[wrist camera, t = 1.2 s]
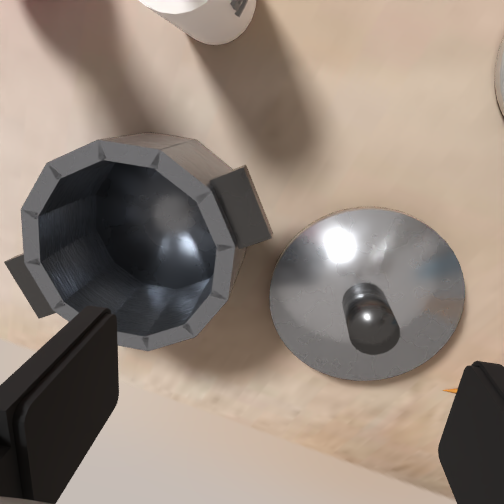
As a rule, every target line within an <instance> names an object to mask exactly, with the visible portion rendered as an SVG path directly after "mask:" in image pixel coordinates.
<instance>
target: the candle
mask: <svg viewBox="0 0 504 504" xmlns="http://www.w3.org/2000/svg"><path fill="white" fill-rule="evenodd" d="M139 1H140V2H141V3H143V4H144V5H145V6H146V7H148V8H149V9H151V10H152V11H154V12H155V13H157V14H158V15H160V16H161V17H163V18H164V19H166V20H167V21H169V22H170V23H172V24H173V25H175V26H176V27H178V28H179V29H181V30H182V31H183V32H185V33H186V34H188V35H189V36H191V37H192V38H194V39H195V40H197V41H200V42H202V43H204V44H210V45H220V44H226V43H228V42H230V41H232V40H234V39H236V38H237V37H239V36H240V35H241V34H242V33H243V32H244V31H245V30H246V28H247V27H248V25H249V23H250V22H251V20H252V17H253V14H254V12H255V9H256V0H139Z"/></svg>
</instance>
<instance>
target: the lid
mask: <svg viewBox="0 0 504 504" xmlns="http://www.w3.org/2000/svg"><path fill="white" fill-rule="evenodd" d="M464 299H465V284H464V278H463V273H462V270H461V267H460V264H459V262H458V260H457V258H456V256H455V254H454V252H453V251H452V249H451V248H450V247H449V245H448V244H447V243H446V241H445V240H444V239H443V238H442V237H441V236H440V235H439V234H438V233H437V232H435V231H434V230H433V229H432V228H431V227H429V226H428V225H427V224H425V223H424V222H422V221H421V220H419V219H417V218H415V217H413V216H411V215H409V214H406V213H403V212H400V211H397V210H393V209H388V208H381V207H356V208H350V209H344V210H341V211H337V212H334V213H331V214H329V215H326V216H324V217H322V218H320V219H318V220H316V221H315V222H313V223H311V224H310V225H308V226H307V227H306V228H304V229H303V230H302V231H300V232H299V233H298V234H297V235H296V236H295V237H294V238H293V239H292V240H291V241H290V243H289V244H288V245H287V246H286V248H285V249H284V250H283V252H282V254H281V256H280V257H279V259H278V261H277V264H276V266H275V269H274V272H273V276H272V280H271V285H270V295H269V300H270V311H271V316H272V320H273V323H274V326H275V328H276V330H277V332H278V334H279V336H280V338H281V339H282V341H283V342H284V344H285V345H286V346H287V348H288V349H289V350H290V351H291V352H292V353H293V354H294V355H295V356H296V357H297V358H299V359H300V360H301V361H302V362H304V363H305V364H307V365H308V366H310V367H311V368H313V369H315V370H317V371H319V372H322V373H324V374H327V375H330V376H333V377H337V378H341V379H347V380H354V381H371V380H380V379H386V378H391V377H394V376H397V375H401V374H403V373H406V372H408V371H410V370H413V369H414V368H416V367H418V366H420V365H421V364H423V363H425V362H426V361H427V360H429V359H430V358H431V357H433V356H434V355H435V354H436V353H437V352H438V351H439V350H440V349H441V348H442V347H443V346H444V345H445V344H446V342H447V341H448V340H449V339H450V337H451V335H452V334H453V332H454V331H455V329H456V327H457V325H458V322H459V320H460V317H461V314H462V311H463V306H464Z"/></svg>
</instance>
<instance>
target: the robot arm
mask: <svg viewBox="0 0 504 504" xmlns="http://www.w3.org/2000/svg"><path fill="white" fill-rule="evenodd" d="M495 89H496V96H497V101H498V104H499V106H500V109H501V111H502V114H503V116H504V38H503V40H502V42H501V45H500V48H499V52H498V56H497V61H496V65H495ZM118 396H119V383H118V344H117V317H116V315H115V314H111V311H110V309H109V308H103V307H96V306H86V307H85V308H84V309H83V310H82V311H81V312H80V313H78V314H77V315H76V316H75V317H74V318H73V319H72V320H71V321H70V322H69V323H68V324H67V325H65V326H64V327H63V328H62V329H61V330H60V331H59V332H58V333H57V334H56V335H55V336H53V337H52V338H51V339H50V340H49V341H48V342H47V343H46V344H45V345H44V346H43V347H42V348H40V349H39V350H38V351H37V352H36V353H35V354H34V355H33V356H32V357H31V358H30V359H29V360H27V361H26V362H25V363H24V364H23V365H22V366H21V367H20V368H19V369H18V370H17V371H15V372H14V374H12V375H11V376H10V377H9V378H8V379H7V380H6V381H5V382H4V383H3V384H1V385H0V504H55V503H56V502H57V500H58V499H59V497H60V495H61V494H62V492H63V491H64V489H65V488H66V486H67V484H68V482H69V481H70V479H71V478H72V476H73V475H74V473H75V471H76V470H77V468H78V467H79V465H80V463H81V462H82V460H83V458H84V457H85V455H86V454H87V452H88V450H89V449H90V447H91V446H92V444H93V442H94V441H95V439H96V437H97V436H98V434H99V432H100V431H101V429H102V428H103V426H104V425H105V423H106V421H107V420H108V418H109V416H110V415H111V413H112V412H113V410H114V408H115V406H116V404H117V401H118ZM438 454H439V459H440V462H441V465H442V467H443V470H444V472H445V475H446V477H447V479H448V482H449V484H450V487H451V489H452V492H453V494H454V497H455V499H456V502H457V504H504V367H503V366H502V365H500V364H494V363H487V362H480V361H476V362H474V363H473V364H472V366H467V367H466V368H465V370H464V372H463V375H462V378H461V381H460V384H459V387H458V390H457V393H456V396H455V399H454V402H453V405H452V408H451V410H450V413H449V416H448V419H447V422H446V425H445V428H444V431H443V434H442V437H441V440H440V443H439V448H438Z"/></svg>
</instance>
